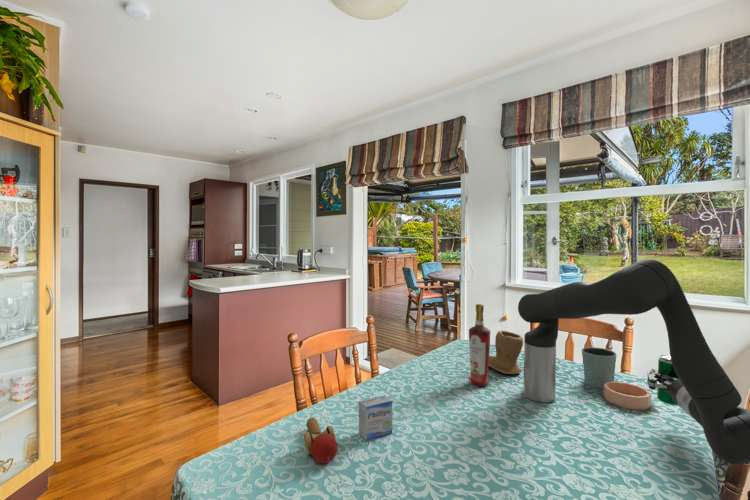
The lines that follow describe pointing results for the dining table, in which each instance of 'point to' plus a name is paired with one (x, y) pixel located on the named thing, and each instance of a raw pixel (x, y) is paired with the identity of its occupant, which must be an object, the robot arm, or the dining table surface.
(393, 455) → the dining table surface
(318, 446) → the kendama
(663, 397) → the soda can
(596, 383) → the grey-green tumbler
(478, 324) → the liquor
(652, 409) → the mat
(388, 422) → the medicine box
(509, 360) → the tan boot
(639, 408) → the bowl
